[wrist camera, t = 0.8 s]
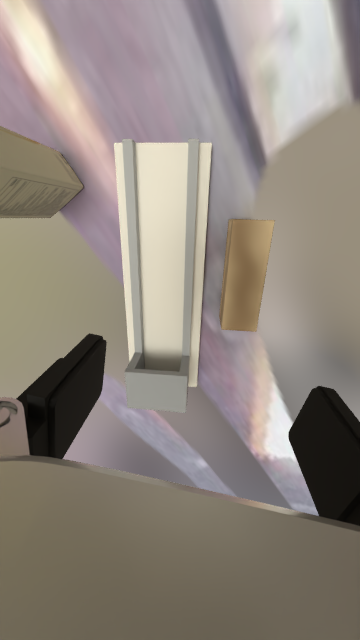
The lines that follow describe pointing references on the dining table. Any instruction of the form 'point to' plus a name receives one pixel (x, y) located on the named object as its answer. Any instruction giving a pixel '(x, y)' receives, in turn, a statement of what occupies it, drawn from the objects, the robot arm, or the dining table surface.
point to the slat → (244, 273)
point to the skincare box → (33, 178)
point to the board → (162, 266)
